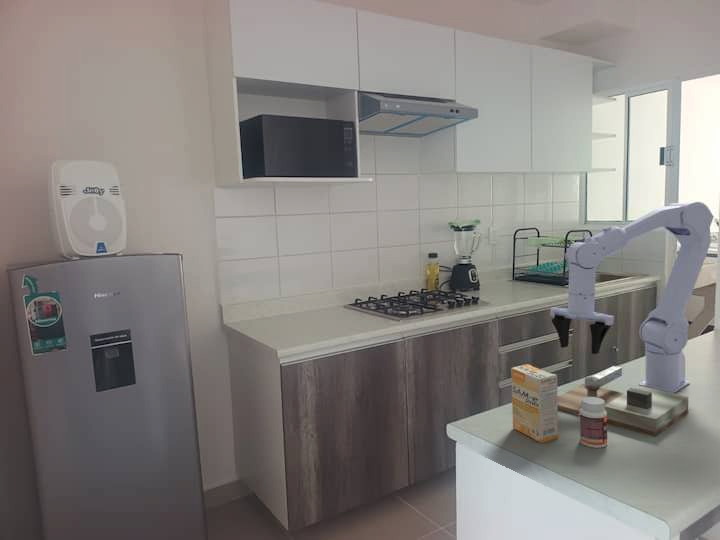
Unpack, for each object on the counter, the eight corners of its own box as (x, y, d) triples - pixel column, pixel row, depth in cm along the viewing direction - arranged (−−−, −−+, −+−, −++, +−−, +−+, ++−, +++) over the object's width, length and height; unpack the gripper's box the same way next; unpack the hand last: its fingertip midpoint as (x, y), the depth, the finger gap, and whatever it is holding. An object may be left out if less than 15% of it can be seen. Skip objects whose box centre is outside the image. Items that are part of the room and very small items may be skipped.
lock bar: (595, 391, 112) (595, 382, 112) (582, 388, 114) (582, 379, 114) (624, 376, 120) (624, 367, 120) (611, 373, 122) (611, 365, 122)
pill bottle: (610, 448, 94) (610, 405, 93) (583, 448, 95) (582, 404, 94) (603, 437, 99) (603, 395, 98) (577, 436, 100) (576, 395, 99)
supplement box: (511, 429, 105) (509, 367, 104) (530, 423, 107) (528, 363, 106) (540, 444, 98) (538, 378, 96) (559, 438, 99) (558, 373, 98)
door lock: (583, 387, 125) (582, 362, 125) (688, 412, 107) (688, 382, 107) (546, 406, 116) (546, 378, 115) (655, 436, 98) (655, 404, 97)
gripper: (544, 291, 123) (542, 346, 124) (604, 299, 112) (601, 359, 113) (559, 288, 127) (558, 342, 129) (619, 295, 116) (616, 353, 118)
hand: (579, 350), depth 121 cm, fingers open, 7 cm apart
